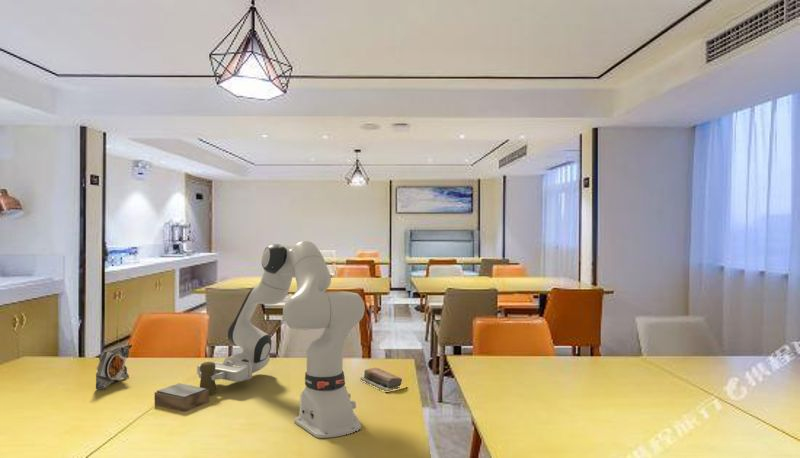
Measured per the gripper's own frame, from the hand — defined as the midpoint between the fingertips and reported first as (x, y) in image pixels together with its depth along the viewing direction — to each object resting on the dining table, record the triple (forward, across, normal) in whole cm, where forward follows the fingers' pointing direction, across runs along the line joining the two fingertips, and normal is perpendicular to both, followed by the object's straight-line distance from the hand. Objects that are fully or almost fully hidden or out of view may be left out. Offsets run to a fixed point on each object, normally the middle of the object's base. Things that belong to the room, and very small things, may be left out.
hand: (205, 377), depth 177 cm
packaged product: (-38, +51, +7) cm, 64 cm away
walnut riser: (+10, 0, +6) cm, 12 cm away
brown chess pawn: (-1, 0, +6) cm, 6 cm away
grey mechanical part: (+7, -40, +6) cm, 41 cm away
